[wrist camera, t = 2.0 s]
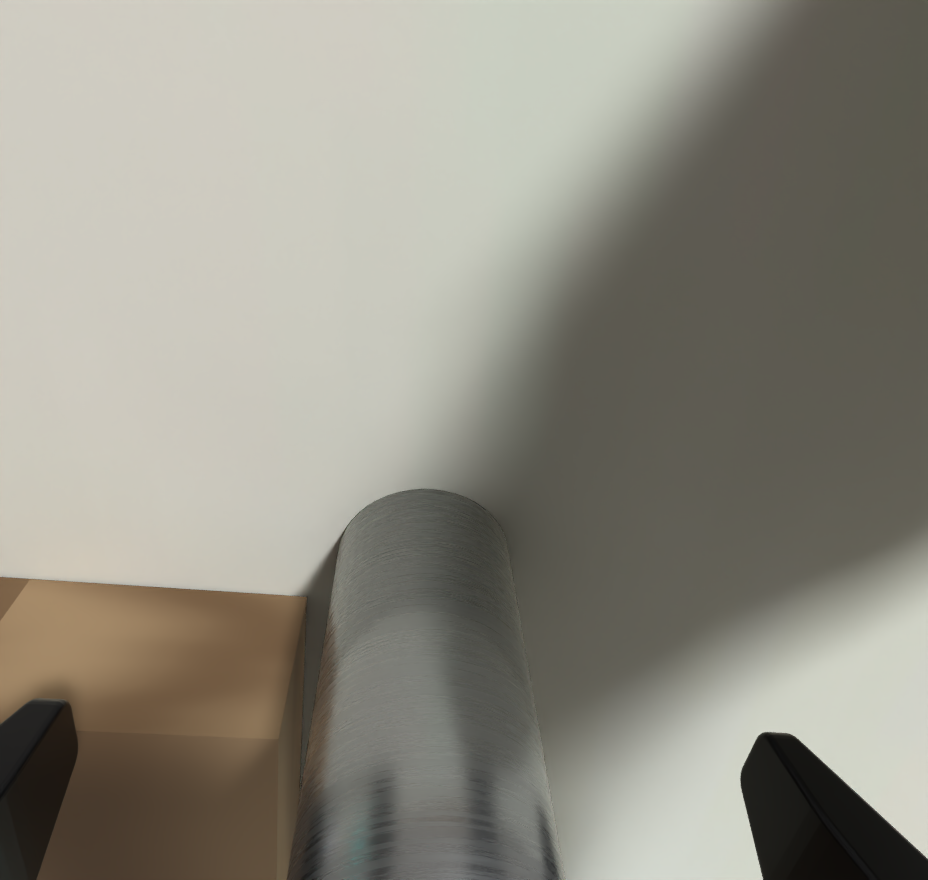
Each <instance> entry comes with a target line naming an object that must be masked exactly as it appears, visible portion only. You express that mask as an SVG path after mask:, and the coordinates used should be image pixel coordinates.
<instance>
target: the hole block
mask: <svg viewBox="0 0 928 880" xmlns="http://www.w3.org/2000/svg"><path fill="white" fill-rule="evenodd" d="M306 608H307V597H300V596H284V595H269V594H253V593H238V592H222V591H207V590H191V589H176V588H160V587H145V586H129V585H114V584H98V583H83V582H67V581H52V580H36V579H21V578H5V577H0V724H1V723H2V722H3V721H5V720H6V719H7V718H8V717H9V716H11V715H12V714H13V713H14V712H16V711H17V710H18V709H19V708H20V707H22V706H23V705H24V704H26V703H27V702H29V701H30V700H33V699H35V698H50V699H64V700H67V701H68V702H69V703H70V704H71V707H72V712H73V717H74V723H75V728H76V733H77V739H78V754H77V759H76V763H75V766H74V769H73V772H72V775H71V778H70V781H69V784H68V787H67V790H66V793H65V796H64V799H63V802H62V805H61V808H60V811H59V814H58V817H57V820H56V823H55V826H54V829H53V832H52V835H51V838H50V841H49V844H48V847H47V850H46V853H45V856H44V859H43V862H42V865H41V868H40V871H39V874H38V877H37V880H287V874H288V868H289V862H290V855H291V849H292V842H293V836H294V830H295V823H296V817H297V811H298V804H299V794H300V767H301V741H302V714H303V688H304V661H305V635H306Z"/></svg>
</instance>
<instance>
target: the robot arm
mask: <svg viewBox="0 0 928 880" xmlns="http://www.w3.org/2000/svg"><path fill="white" fill-rule="evenodd" d="M77 754H78V739H77V733H76V728H75V723H74V717H73V712H72V707H71V704H70V703H69V702H68V701H67V700H64V699H50V698H35V699H33V700H30V701H29V702H27V703H26V704H24V705H23V706H22V707H20V708H19V709H18V710H17V711H16V712H14V713H13V714H12V715H11V716H9V717H8V718H7V719H6V720H5V721H3V722H2V723H1V724H0V880H37V877H38V874H39V871H40V868H41V865H42V862H43V859H44V856H45V853H46V850H47V847H48V844H49V841H50V838H51V835H52V832H53V829H54V826H55V823H56V820H57V817H58V814H59V811H60V808H61V805H62V802H63V799H64V796H65V793H66V790H67V787H68V784H69V781H70V778H71V775H72V772H73V769H74V766H75V763H76V759H77ZM740 781H741V789H742V793H743V798H744V802H745V806H746V810H747V814H748V818H749V823H750V827H751V831H752V835H753V839H754V843H755V848H756V852H757V856H758V860H759V864H760V868H761V873H762V877H763V880H928V859H927V858H926V857H925V856H924V855H923V854H922V853H921V852H920V851H919V850H918V849H916V848H915V847H914V846H913V845H912V844H911V843H910V842H909V841H908V840H907V839H906V838H905V837H904V836H902V835H901V834H900V833H899V832H898V831H897V830H896V829H895V828H894V827H893V826H892V825H891V824H889V823H888V822H887V821H886V820H885V819H884V818H883V817H882V816H881V815H880V814H879V813H878V812H876V811H875V810H874V809H873V808H872V807H871V806H870V805H869V804H868V803H867V802H866V801H865V800H863V799H862V798H861V797H860V796H859V795H858V794H857V793H856V792H855V791H854V790H853V789H852V788H850V787H849V786H848V785H847V784H846V783H845V782H844V781H843V780H842V779H841V778H840V777H839V776H838V775H836V774H835V773H834V772H833V771H832V770H831V769H830V768H829V767H828V766H827V765H826V764H825V763H823V762H822V761H821V760H820V759H819V758H818V757H817V756H816V755H815V754H814V753H813V752H812V751H810V750H809V749H808V748H807V747H806V746H805V745H804V744H803V743H802V742H801V741H800V740H799V739H797V738H796V737H795V736H793V735H791V734H788V733H774V732H764V733H762V734H760V735H759V736H758V737H757V739H756V741H755V743H754V745H753V747H752V749H751V751H750V753H749V755H748V757H747V759H746V761H745V763H744V766H743V768H742V771H741V780H740Z"/></svg>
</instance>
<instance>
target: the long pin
mask: <svg viewBox="0 0 928 880" xmlns="http://www.w3.org/2000/svg"><path fill="white" fill-rule="evenodd" d="M287 880H565V875H564V869H563V863H562V857H561V851H560V846H559V840H558V834H557V828H556V823H555V817H554V811H553V805H552V800H551V794H550V788H549V782H548V777H547V771H546V765H545V759H544V754H543V748H542V742H541V736H540V730H539V725H538V719H537V713H536V707H535V702H534V696H533V690H532V684H531V679H530V673H529V667H528V661H527V656H526V650H525V644H524V638H523V633H522V627H521V621H520V615H519V609H518V604H517V598H516V592H515V586H514V581H513V575H512V569H511V563H510V558H509V552H508V547H507V542H506V538H505V536H504V533H503V531H502V529H501V528H500V526H499V524H498V523H497V522H496V520H495V519H494V518H493V517H492V515H490V514H489V513H488V512H487V511H486V510H485V509H484V508H482V507H481V506H480V505H478V504H477V503H475V502H473V501H471V500H469V499H468V498H465V497H463V496H460V495H458V494H454V493H450V492H447V491H441V490H434V489H417V490H408V491H403V492H398V493H395V494H391V495H388V496H386V497H383V498H381V499H379V500H377V501H375V502H373V503H372V504H370V505H368V506H367V507H366V508H364V509H363V510H362V511H361V512H359V513H358V514H357V515H356V516H355V518H354V519H353V520H352V521H351V522H350V524H349V525H348V526H347V528H346V530H345V532H344V534H343V536H342V538H341V541H340V544H339V550H338V556H337V562H336V569H335V575H334V581H333V588H332V594H331V601H330V607H329V613H328V620H327V626H326V632H325V639H324V645H323V651H322V658H321V664H320V671H319V677H318V683H317V690H316V696H315V702H314V709H313V715H312V721H311V728H310V734H309V741H308V747H307V753H306V760H305V766H304V772H303V779H302V785H301V792H300V798H299V804H298V811H297V817H296V823H295V830H294V836H293V842H292V849H291V855H290V862H289V868H288V874H287Z"/></svg>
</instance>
